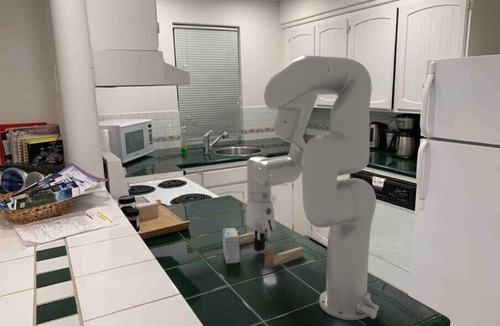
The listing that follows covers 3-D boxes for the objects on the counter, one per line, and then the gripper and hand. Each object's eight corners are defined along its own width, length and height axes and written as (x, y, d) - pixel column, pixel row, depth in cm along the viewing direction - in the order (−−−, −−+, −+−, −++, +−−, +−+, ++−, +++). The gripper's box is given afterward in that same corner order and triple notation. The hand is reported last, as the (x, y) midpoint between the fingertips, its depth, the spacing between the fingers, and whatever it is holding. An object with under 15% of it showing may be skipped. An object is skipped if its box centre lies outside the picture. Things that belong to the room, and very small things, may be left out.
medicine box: (239, 263, 113) (239, 236, 111) (225, 264, 112) (224, 237, 111) (236, 252, 121) (235, 227, 119) (222, 253, 120) (222, 228, 118)
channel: (303, 257, 117) (303, 242, 116) (268, 268, 109) (268, 252, 108) (264, 236, 134) (264, 223, 133) (231, 245, 126) (231, 231, 125)
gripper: (283, 198, 113) (283, 254, 116) (255, 189, 125) (255, 240, 128) (263, 203, 108) (264, 261, 112) (236, 192, 120) (237, 245, 124)
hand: (259, 249), depth 120 cm, fingers closed
